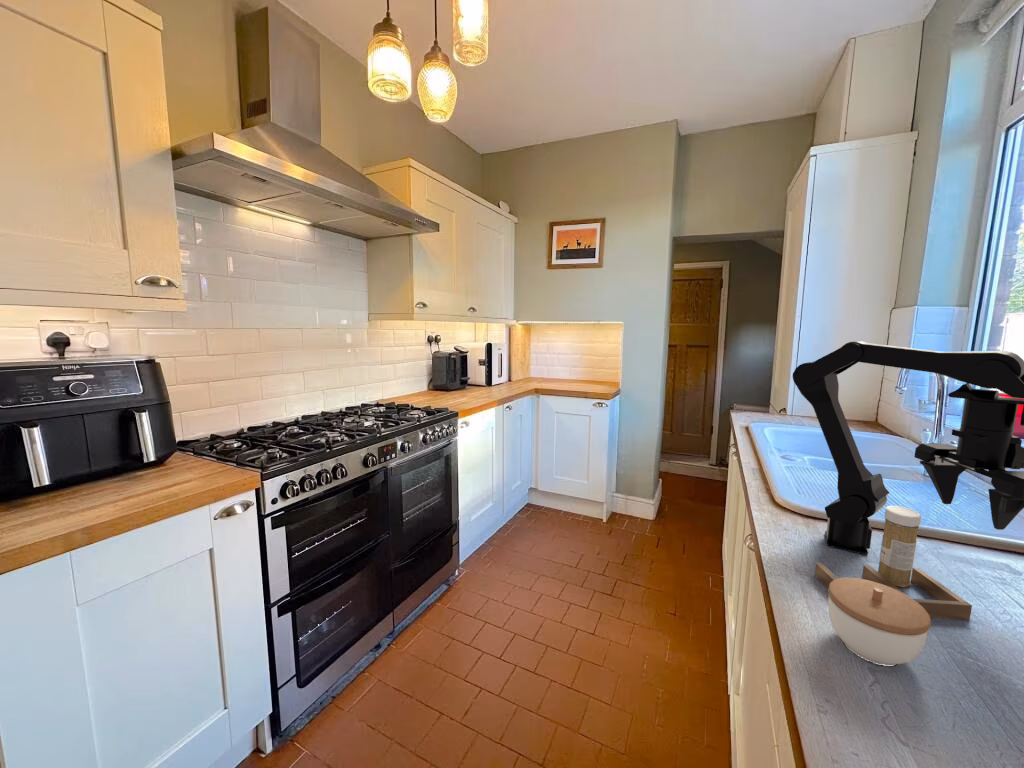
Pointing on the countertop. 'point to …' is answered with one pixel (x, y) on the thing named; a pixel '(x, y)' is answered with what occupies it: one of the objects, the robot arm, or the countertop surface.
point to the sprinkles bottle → (898, 544)
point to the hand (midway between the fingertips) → (971, 515)
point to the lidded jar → (877, 620)
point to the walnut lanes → (945, 598)
